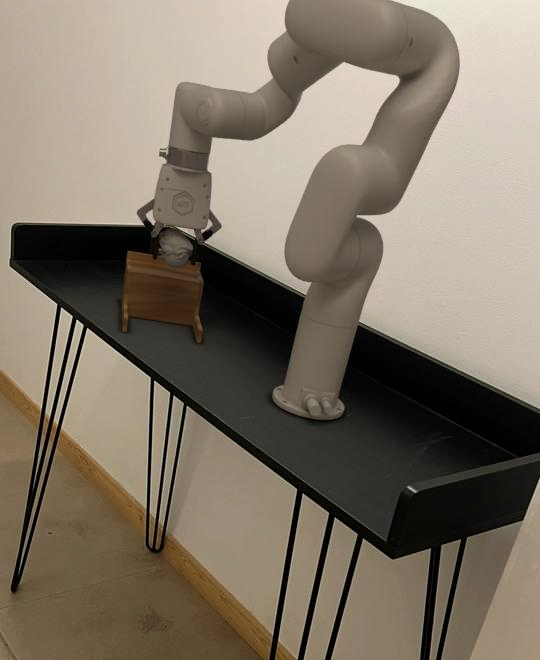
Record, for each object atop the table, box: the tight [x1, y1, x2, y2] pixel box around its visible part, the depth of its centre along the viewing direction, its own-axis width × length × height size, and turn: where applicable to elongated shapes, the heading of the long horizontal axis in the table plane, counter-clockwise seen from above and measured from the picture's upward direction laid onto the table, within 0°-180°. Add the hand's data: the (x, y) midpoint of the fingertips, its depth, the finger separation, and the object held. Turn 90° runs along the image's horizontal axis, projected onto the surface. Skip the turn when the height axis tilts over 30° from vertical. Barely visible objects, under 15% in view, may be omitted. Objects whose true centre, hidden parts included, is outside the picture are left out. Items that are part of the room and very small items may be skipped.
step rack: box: [120, 250, 205, 344], centre depth 168 cm, size 20×15×10 cm
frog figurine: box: [159, 227, 193, 268], centre depth 158 cm, size 6×7×7 cm
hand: (173, 260), depth 159 cm, fingers closed on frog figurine, 6 cm apart
